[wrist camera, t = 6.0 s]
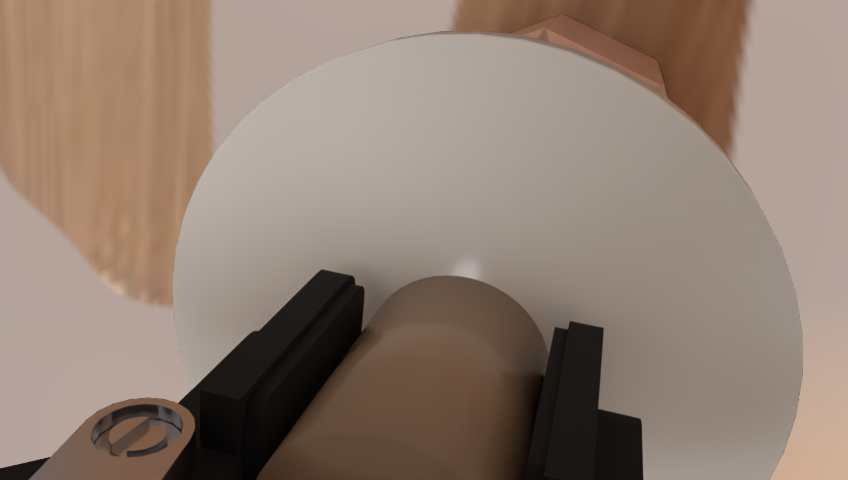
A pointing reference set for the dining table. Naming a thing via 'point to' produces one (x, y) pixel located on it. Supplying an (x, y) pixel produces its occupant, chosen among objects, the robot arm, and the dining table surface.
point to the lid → (495, 261)
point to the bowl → (597, 47)
